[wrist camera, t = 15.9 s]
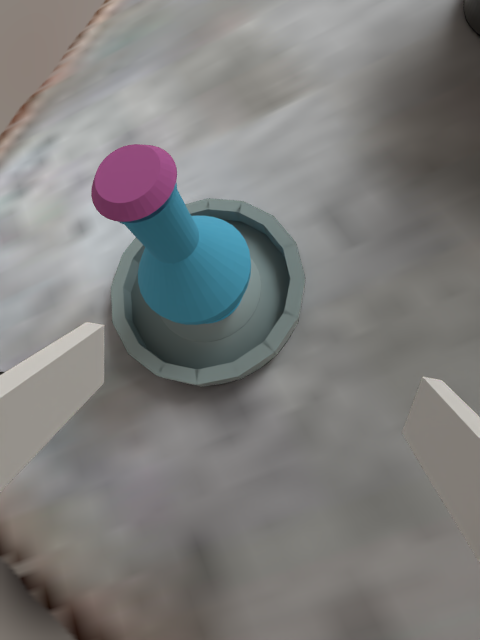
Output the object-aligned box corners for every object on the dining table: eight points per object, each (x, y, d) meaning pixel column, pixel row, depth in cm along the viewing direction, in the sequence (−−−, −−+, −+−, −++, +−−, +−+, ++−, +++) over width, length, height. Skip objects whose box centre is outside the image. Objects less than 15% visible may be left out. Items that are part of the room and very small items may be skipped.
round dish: (120, 237, 35) (108, 224, 33) (280, 195, 33) (279, 179, 31) (129, 402, 29) (115, 400, 27) (324, 363, 27) (326, 358, 25)
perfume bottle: (151, 331, 30) (17, 251, 16) (172, 242, 32) (73, 103, 18) (250, 343, 28) (198, 264, 14) (264, 247, 30) (233, 95, 16)
